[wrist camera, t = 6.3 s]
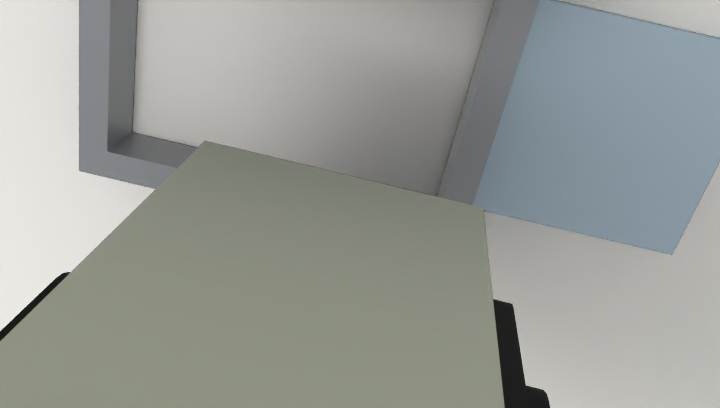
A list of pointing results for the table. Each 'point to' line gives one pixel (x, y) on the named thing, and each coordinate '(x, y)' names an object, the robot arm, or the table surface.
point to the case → (161, 158)
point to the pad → (607, 128)
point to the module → (268, 299)
